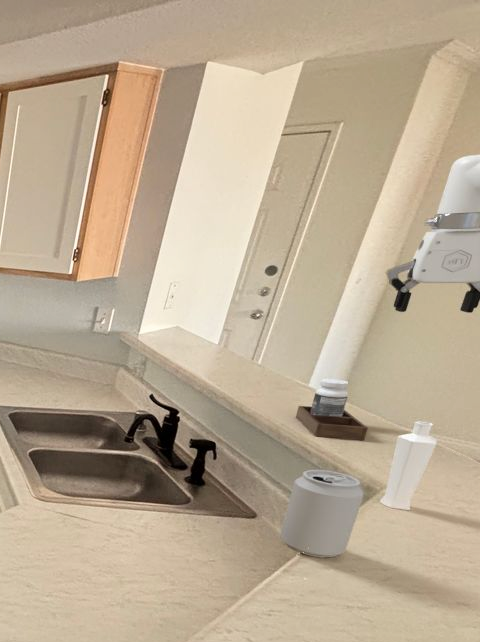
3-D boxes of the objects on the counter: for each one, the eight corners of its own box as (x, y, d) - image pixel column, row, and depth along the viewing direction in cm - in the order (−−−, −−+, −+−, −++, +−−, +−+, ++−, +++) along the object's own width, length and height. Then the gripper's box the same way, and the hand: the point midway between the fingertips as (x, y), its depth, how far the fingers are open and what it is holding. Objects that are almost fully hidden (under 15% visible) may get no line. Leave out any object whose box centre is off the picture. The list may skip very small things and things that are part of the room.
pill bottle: (310, 416, 146) (320, 377, 143) (341, 420, 142) (353, 380, 139) (306, 421, 142) (317, 381, 139) (338, 425, 138) (350, 385, 135)
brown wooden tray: (339, 420, 144) (343, 408, 143) (364, 440, 131) (368, 427, 130) (295, 417, 148) (298, 405, 147) (314, 436, 135) (318, 423, 134)
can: (267, 535, 94) (286, 466, 90) (322, 537, 93) (343, 467, 89) (297, 558, 87) (319, 485, 83) (356, 562, 86) (381, 487, 82)
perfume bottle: (423, 511, 99) (454, 427, 94) (393, 510, 100) (422, 427, 95) (400, 499, 103) (429, 419, 98) (371, 499, 104) (398, 419, 99)
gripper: (408, 225, 116) (382, 313, 122) (538, 220, 108) (504, 314, 114) (393, 225, 122) (368, 308, 128) (515, 220, 114) (483, 309, 120)
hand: (432, 311), depth 121 cm, fingers open, 9 cm apart
